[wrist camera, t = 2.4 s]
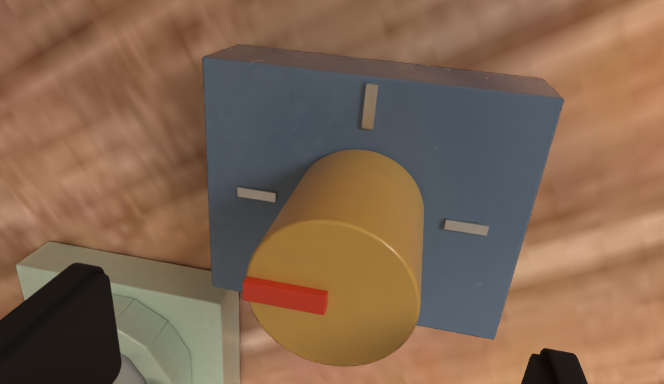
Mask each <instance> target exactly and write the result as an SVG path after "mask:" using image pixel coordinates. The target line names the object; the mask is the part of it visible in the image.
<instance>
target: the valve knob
mask: <svg viewBox="0 0 664 384" xmlns="http://www.w3.org/2000/svg"><path fill="white" fill-rule="evenodd" d="M423 228H424V204H423V199H422V196H421V193H420V190H419V188H418V186H417V184H416V182H415V181H414V179H413V178H412V177H411V175H410V174H409V173H408V172H407V171H406V170H405V169H404V168H403V167H402V166H401V165H399V164H398V163H397V162H395V161H393V160H392V159H390V158H388V157H386V156H384V155H382V154H379V153H376V152H372V151H367V150H358V149H352V150H343V151H338V152H335V153H331V154H329V155H327V156H325V157H323V158H321V159H320V160H318V161H317V162H315V163H314V164H313V165H312V166H311V167H310V168H309V169H308V170H307V171H306V172H305V174H304V175H303V177H302V179H301V180H300V182H299V183H298V185H297V186H296V188H295V189H294V191H293V193H292V194H291V196H290V197H289V199H288V200H287V202H286V203H285V205H284V206H283V208H282V210H281V211H280V213H279V214H278V216H277V217H276V219H275V220H274V222H273V224H272V225H271V227H270V228H269V230H268V231H267V233H266V234H265V236H264V238H263V239H262V241H261V242H260V244H259V245H258V247H257V248H256V250H255V252H254V253H253V255H252V257H251V260H250V262H249V265H248V269H247V275H246V278H245V279H244V281H243V283H242V285H243V300H245V301H249V303H250V306H251V309H252V311H253V313H254V315H255V317H256V319H257V320H258V322H259V323H260V325H261V326H262V327H263V329H264V330H265V331H266V332H267V333H268V334H269V335H270V336H271V337H272V338H273V339H274V340H275V341H276V342H277V343H279V344H280V345H282V346H283V347H284V348H286V349H287V350H289V351H291V352H292V353H294V354H296V355H298V356H300V357H302V358H305V359H308V360H310V361H313V362H317V363H321V364H325V365H331V366H344V367H345V366H358V365H365V364H369V363H372V362H376V361H378V360H380V359H383V358H385V357H387V356H388V355H390V354H392V353H393V352H395V351H396V350H397V349H398V348H400V347H401V346H402V345H403V344H404V342H405V341H406V340H407V339H408V338H409V336H410V335H411V333H412V332H413V330H414V328H415V326H416V324H417V321H418V317H419V313H420V303H421V278H422V253H423Z"/></svg>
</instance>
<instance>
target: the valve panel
mask: <svg viewBox="0 0 664 384" xmlns="http://www.w3.org/2000/svg"><path fill="white" fill-rule="evenodd" d="M202 61H203V84H204V108H205V131H206V155H207V178H208V202H209V225H210V249H211V272H212V286H213V287H217V288H222V289H227V290H233V291H238V292H243V285H242V283H243V281H244V279H245V278H246V275H247V269H248V265H249V262H250V260H251V257H252V255H253V253H254V252H255V250H256V248H257V247H258V245H259V244H260V242H261V241H262V239H263V238H264V236H265V234H266V233H267V231H268V230H269V228H270V227H271V225H272V224H273V222H274V220H275V219H276V217H277V216H278V214H279V213H280V211H281V210H282V208H283V206H284V205H285V203H286V202H287V200H288V199H289V197H290V196H291V194H292V193H293V191H294V189H295V188H296V186H297V185H298V183H299V182H300V180H301V179H302V177H303V175H304V174H305V172H306V171H307V170H308V169H309V168H310V167H311V166H312V165H313V164H314V163H315V162H317V161H318V160H320V159H321V158H323V157H325V156H327V155H329V154H331V153H335V152H338V151H343V150H352V149H358V150H367V151H372V152H376V153H379V154H382V155H384V156H386V157H388V158H390V159H392V160H393V161H395V162H397V163H398V164H399V165H401V166H402V167H403V168H404V169H405V170H406V171H407V172H408V173H409V174H410V175H411V177H412V178H413V179H414V181H415V182H416V184H417V186H418V188H419V190H420V193H421V196H422V199H423V204H424V228H423V253H422V278H421V303H420V313H419V317H418V321H417V324H416V325H418V326H424V327H429V328H434V329H440V330H445V331H450V332H456V333H461V334H466V335H471V336H477V337H482V338H487V339H495V335H496V332H497V329H498V325H499V322H500V318H501V315H502V311H503V308H504V305H505V301H506V298H507V294H508V291H509V288H510V284H511V281H512V277H513V274H514V270H515V267H516V264H517V260H518V257H519V253H520V250H521V246H522V243H523V240H524V236H525V233H526V229H527V226H528V222H529V219H530V216H531V212H532V209H533V205H534V202H535V199H536V195H537V192H538V188H539V185H540V181H541V178H542V175H543V171H544V168H545V164H546V161H547V157H548V154H549V151H550V147H551V144H552V140H553V137H554V133H555V130H556V127H557V123H558V120H559V116H560V113H561V110H562V106H563V103H564V99H563V98H562V97H561V96H560V95H559V94H558V93H557V92H556V91H555V90H554V89H553V88H552V87H551V86H550V85H549V84H548V83H547V82H546V81H545V80H544V79H542V78H536V77H527V76H518V75H509V74H500V73H491V72H482V71H473V70H464V69H454V68H445V67H436V66H427V65H418V64H409V63H400V62H391V61H382V60H373V59H364V58H355V57H346V56H337V55H328V54H319V53H310V52H301V51H292V50H283V49H274V48H265V47H256V46H247V45H238V44H237V45H235V46H232V47H229V48H226V49H224V50H221V51H218V52H215V53H213V54H210V55H207V56H204V57H203V58H202Z"/></svg>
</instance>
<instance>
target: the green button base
mask: <svg viewBox="0 0 664 384" xmlns="http://www.w3.org/2000/svg"><path fill="white" fill-rule="evenodd" d="M77 262H78V263H83V264H89V265H94V266H99V267H102V269H103V270H104V273H105V274H106V275H108V276H109V278H110V284H111V291H112V298H113V305H114V311H115V318H116V325H117V332H118V339H119V346H120V353H121V354H123V355H125V356H126V357H128V358H129V359H130V360H131V361H132V362H133V364H134V365H135V366H136V368H137V369H138V370H139V372H140V373H141V374H142V376H143V377H144V378H145V380H146V384H240V342H239V292H238V291H233V290H227V289H222V288H217V287H213V286H212V272H211V271H209V270H203V269H198V268H192V267H187V266H182V265H176V264H171V263H165V262H160V261H154V260H149V259H143V258H138V257H133V256H127V255H122V254H116V253H111V252H105V251H100V250H94V249H89V248H84V247H78V246H73V245H67V244H62V243H56V242H51V241H49V242H47V243H46V244H44V245H43V246H41V247H40V248H39V249H37V250H36V251H34V252H33V253H31V254H30V255H28V256H27V257H26V258H24V259H23V260H21V261H20V262H18V263H17V264H16V265H15V266H16V270H17V274H18V278H19V282H20V286H21V290H22V294H23V298H24V301H25V300H26V299H28V298H29V297H30V296H32V295H33V294H34V293H35V292H37V291H38V290H39V289H40V288H42V287H43V286H44V285H45V284H47V283H48V282H49V281H50V280H52V279H53V278H54V277H55V276H57V275H58V274H59V273H61V272H62V271H63V270H64V269H66V268H67V267H68V266H69V265H71V264H73V263H77Z"/></svg>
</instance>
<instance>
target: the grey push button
mask: <svg viewBox="0 0 664 384" xmlns="http://www.w3.org/2000/svg"><path fill="white" fill-rule="evenodd" d="M121 360H122V365H121V370H120V373H119V375H118V377H117V378H116V380H115V381H114V382H113V384H146V380H145V378H144V377H143V376H142V374H141V373H140V372H139V370H138V369H137V368H136V366H135V365H134V364H133V362H132V361H131V360H130V359H129V358H128V357H126V356H125V355H123V354H121Z"/></svg>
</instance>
